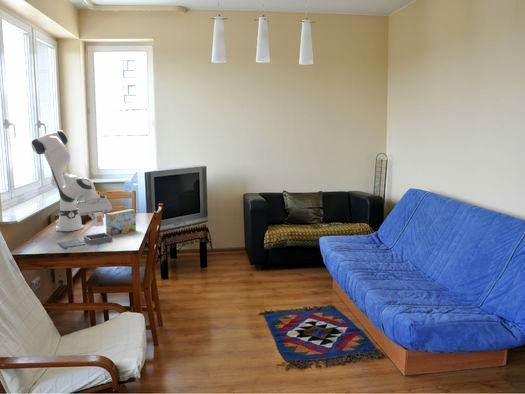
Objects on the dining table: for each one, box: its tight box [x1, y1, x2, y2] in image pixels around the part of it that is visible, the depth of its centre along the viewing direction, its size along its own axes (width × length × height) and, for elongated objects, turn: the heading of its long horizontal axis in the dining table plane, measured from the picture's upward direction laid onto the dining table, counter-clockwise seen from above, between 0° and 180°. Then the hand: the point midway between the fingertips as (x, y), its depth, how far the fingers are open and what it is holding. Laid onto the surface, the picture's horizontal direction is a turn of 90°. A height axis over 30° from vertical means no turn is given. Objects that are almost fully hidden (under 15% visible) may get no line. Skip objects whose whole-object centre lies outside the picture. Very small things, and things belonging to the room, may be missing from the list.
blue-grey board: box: [57, 238, 86, 250], centre depth 277 cm, size 16×12×1 cm
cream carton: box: [92, 212, 104, 227], centre depth 282 cm, size 5×4×8 cm
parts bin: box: [83, 232, 113, 246], centre depth 283 cm, size 13×13×4 cm
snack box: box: [104, 208, 137, 237], centre depth 305 cm, size 21×6×15 cm, turn 148°
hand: (98, 218), depth 281 cm, fingers closed on cream carton, 4 cm apart
